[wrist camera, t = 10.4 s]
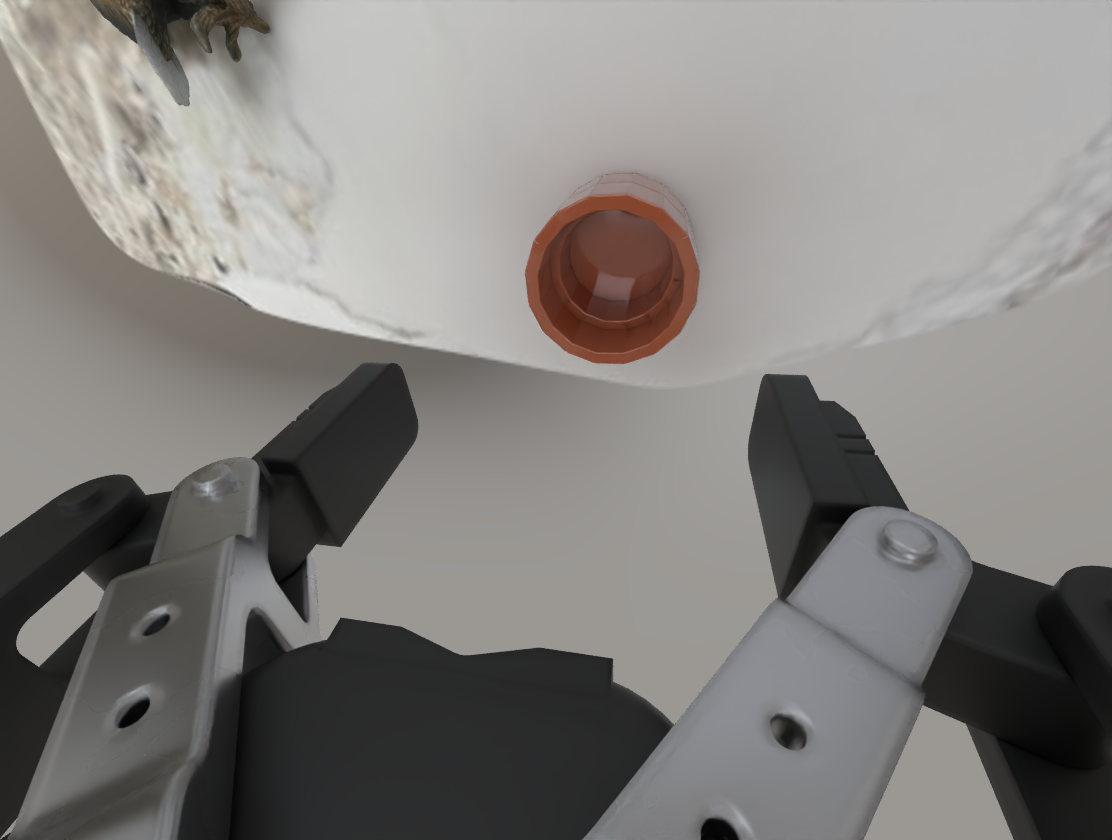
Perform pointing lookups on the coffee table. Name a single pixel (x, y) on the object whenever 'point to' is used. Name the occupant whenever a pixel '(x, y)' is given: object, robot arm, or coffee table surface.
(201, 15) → the eagle figurine
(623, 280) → the brown cup
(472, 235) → the coffee table surface
